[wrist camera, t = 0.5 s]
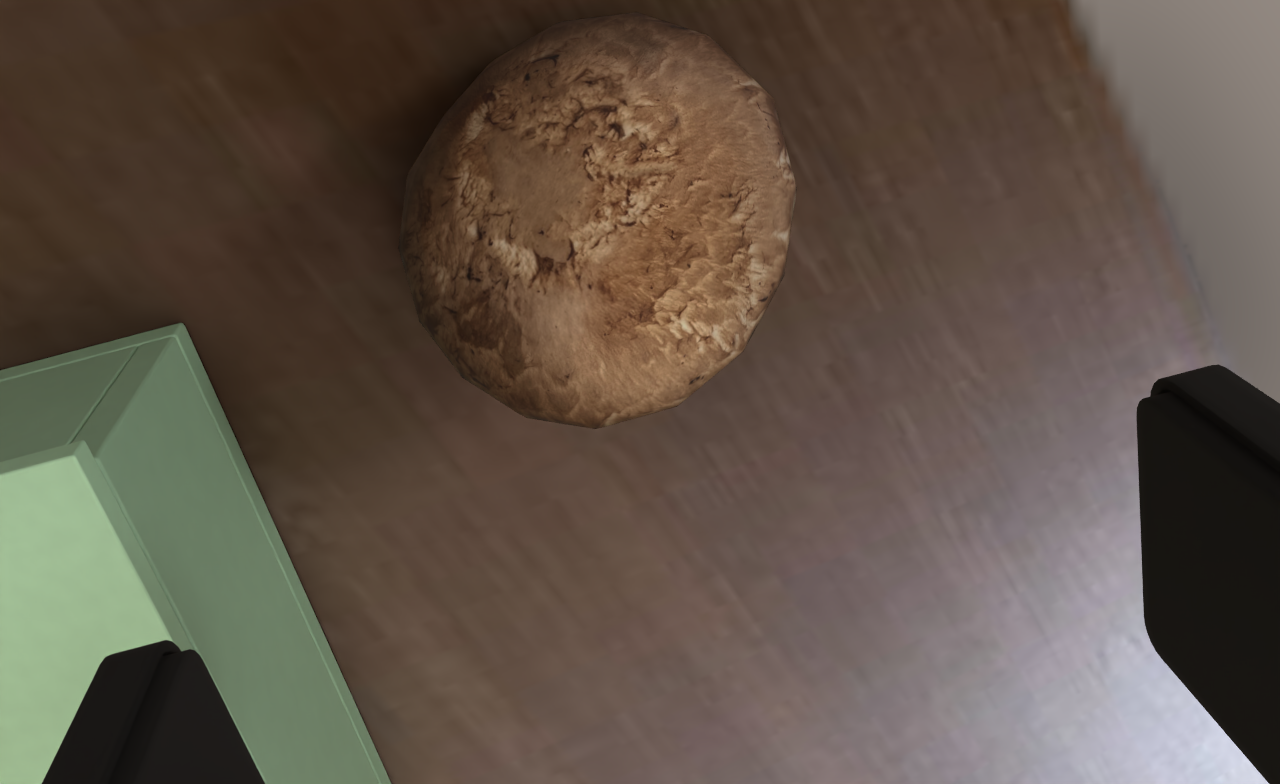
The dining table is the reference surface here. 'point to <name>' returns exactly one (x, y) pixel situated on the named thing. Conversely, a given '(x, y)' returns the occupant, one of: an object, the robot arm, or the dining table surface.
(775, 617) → the dining table surface
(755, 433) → the dining table surface
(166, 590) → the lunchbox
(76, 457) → the green flat panel
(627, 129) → the mushroom
